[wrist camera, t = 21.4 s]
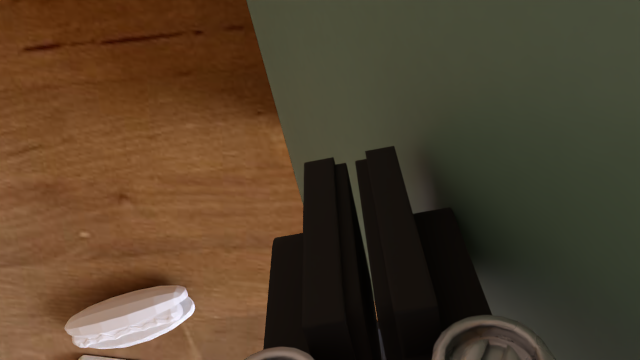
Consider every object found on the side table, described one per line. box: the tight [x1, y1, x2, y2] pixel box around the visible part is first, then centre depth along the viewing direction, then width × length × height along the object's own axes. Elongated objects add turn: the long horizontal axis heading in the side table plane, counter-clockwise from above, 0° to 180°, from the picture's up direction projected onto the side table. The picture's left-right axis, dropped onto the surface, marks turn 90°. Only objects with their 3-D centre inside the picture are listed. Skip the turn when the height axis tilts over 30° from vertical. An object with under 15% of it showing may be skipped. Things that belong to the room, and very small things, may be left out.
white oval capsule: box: [65, 285, 195, 349], centre depth 33 cm, size 3×8×3 cm, turn 110°
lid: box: [246, 0, 640, 360], centre depth 11 cm, size 16×12×1 cm
